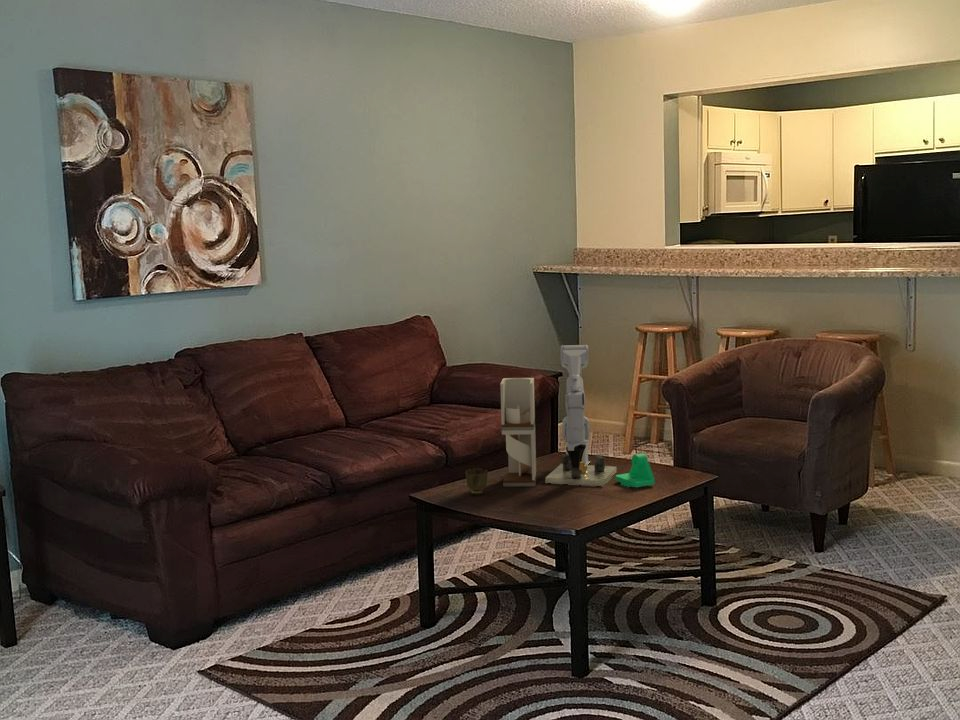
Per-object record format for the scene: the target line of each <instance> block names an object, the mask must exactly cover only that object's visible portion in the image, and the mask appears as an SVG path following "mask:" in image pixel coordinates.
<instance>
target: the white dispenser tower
mask: <svg viewBox="0 0 960 720" xmlns="http://www.w3.org/2000/svg"><path fill="white" fill-rule="evenodd" d="M499 385H500V386H499V387H500V412H501V413H500V417H501V419H500V421H501V422H500V423H501V436H502V435H503V436H504V435H505V446H506V447H505V450H506V453H507V454H508V455H507V458H508V459H507V460H508V462H507V463H508V471H505V473H504V477H503V481H502V484H503V485H502V487H536V482H537V454H536V453H537V450H536V449H537V448H536V447H537V446H536V444H537V443H536V408H535V407H536V406H535V405H536V404H535V377H504V378H502V380H501V381H500V383H499Z"/></svg>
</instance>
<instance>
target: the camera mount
mask: <svg viewBox="0 0 960 720" xmlns="http://www.w3.org/2000/svg"><path fill="white" fill-rule="evenodd" d="M649 462H650V461H649V459H648V457H647V455H646V454H645V453H643V452H642V453H637V454H633V455H632V456H631V464H632V465H631V467H630V469H629V472H628V473H622V474H616V475H615V481H617V482H620V486H623V485H624V486H623V487H625V486H627V487H626V488H628V487H632V488H641V487H647V486H651V485H656V483H655V477H654V474H653V471H652V467H651V465H650V463H649Z"/></svg>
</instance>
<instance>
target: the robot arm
mask: <svg viewBox="0 0 960 720" xmlns="http://www.w3.org/2000/svg"><path fill="white" fill-rule="evenodd" d="M560 365H561V367H562V368H564V369H567V373H568V377H567V378H566V394H565V410H566V416H565V417H564V418H562V423H561V424H562V425H561V437H562V438H561V439H562V440H563V441H564V442H565V455H567V454H569V457H570V460H571V464H572V468H579V465H580V462H585V464H587V465H588V464H589V463H590V462H591V463H592V461H591V460H589V446H588V443H589V440H590V439H591V437H590V436H591V435H590V431H591V430H590V420H589V418H588V417H586V416H585V408H586V394H585V389H584V379H583V378H582V377H583V376H581V373H582V371H583V369H584V368H587V367H588V365H589V345H587V344H576V345H575V344H574V345H573V344H572V345H571V344H570V345H569V344H568V345H565V344H562V345H560ZM591 463H590V464H591ZM590 464H589V465H590Z"/></svg>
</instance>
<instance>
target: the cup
mask: <svg viewBox="0 0 960 720" xmlns="http://www.w3.org/2000/svg"><path fill="white" fill-rule="evenodd" d="M488 471H489V469H487V468H485V469H484V470H483V467H482V468H480V467H477V468H475V467H473V469H471V468H469V469H465V471H464V472H465V479H466V485H467V487H468V488H469V490H471V494H472V495H473V494H474V495H473V496H480V494H481V495H482V494H483V492H484V491H483V490H484V489H486V486H487V483H488Z"/></svg>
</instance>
